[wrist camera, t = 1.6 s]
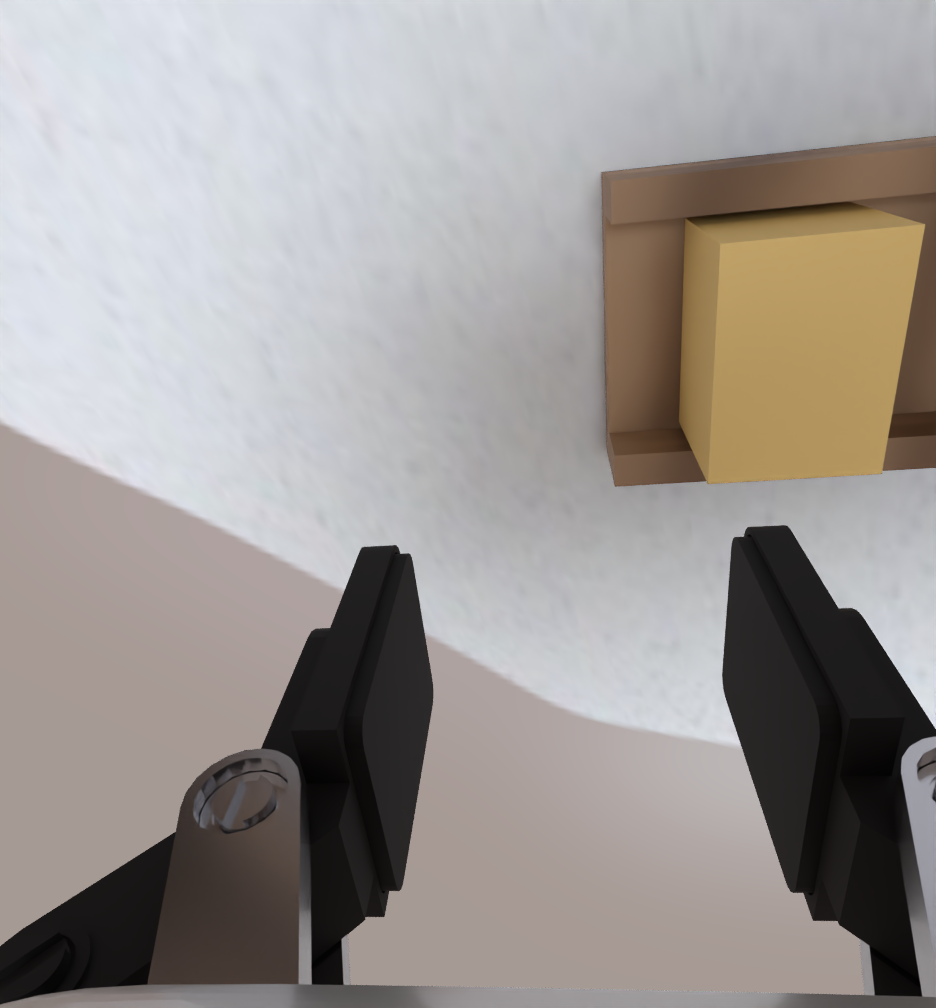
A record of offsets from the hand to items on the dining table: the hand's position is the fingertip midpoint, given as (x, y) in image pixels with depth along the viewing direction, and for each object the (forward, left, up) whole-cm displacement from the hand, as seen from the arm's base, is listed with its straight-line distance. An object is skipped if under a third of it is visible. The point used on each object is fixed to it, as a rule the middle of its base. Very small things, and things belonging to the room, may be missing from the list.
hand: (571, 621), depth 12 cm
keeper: (-7, 0, -16) cm, 18 cm away
